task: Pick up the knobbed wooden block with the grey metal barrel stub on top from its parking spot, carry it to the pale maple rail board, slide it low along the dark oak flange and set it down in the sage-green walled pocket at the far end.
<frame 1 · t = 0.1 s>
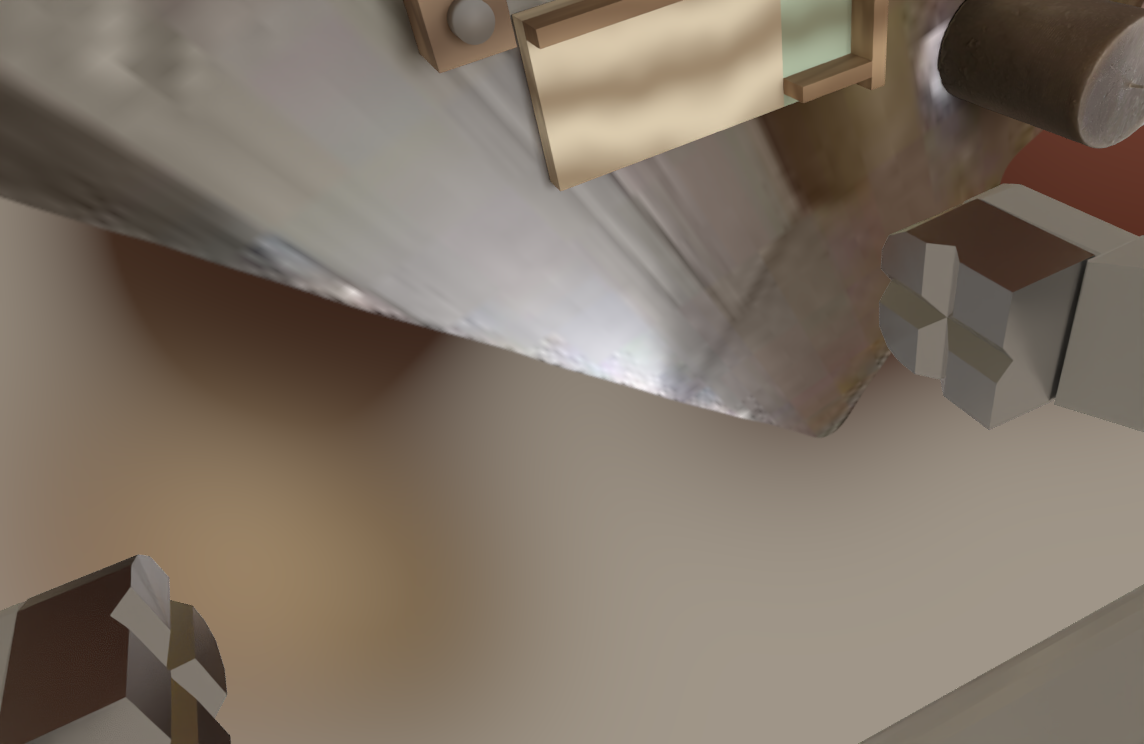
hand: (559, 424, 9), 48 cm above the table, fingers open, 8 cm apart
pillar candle: (984, 40, 70), on the table
knobbed wooden block: (444, 0, 51), on the table
rail board: (696, 45, 59), on the table
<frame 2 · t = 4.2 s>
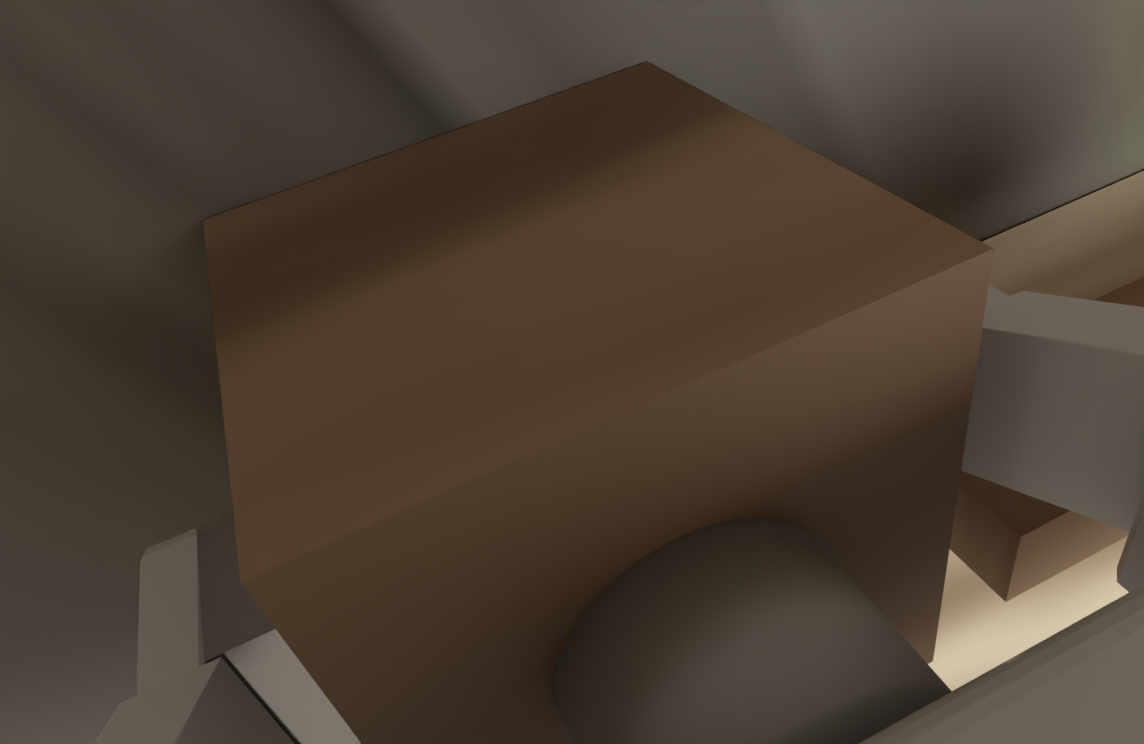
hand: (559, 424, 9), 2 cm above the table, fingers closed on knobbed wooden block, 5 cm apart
knobbed wooden block: (496, 324, 10), on the table, touching gripper
when the fingers open (5 cm above the table, at t = 15.4 s): knobbed wooden block stays where it is, resting on rail board.
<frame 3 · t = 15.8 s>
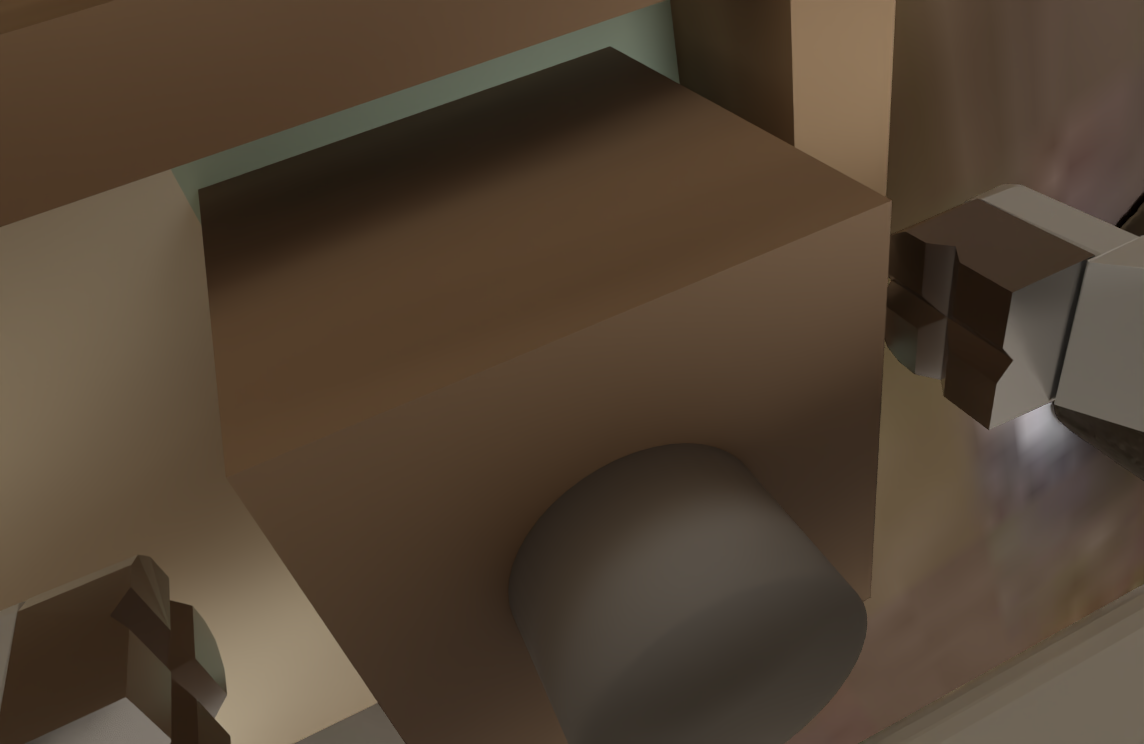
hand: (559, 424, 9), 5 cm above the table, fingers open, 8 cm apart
knobbed wooden block: (473, 293, 11), point 2 cm above the table, touching rail board
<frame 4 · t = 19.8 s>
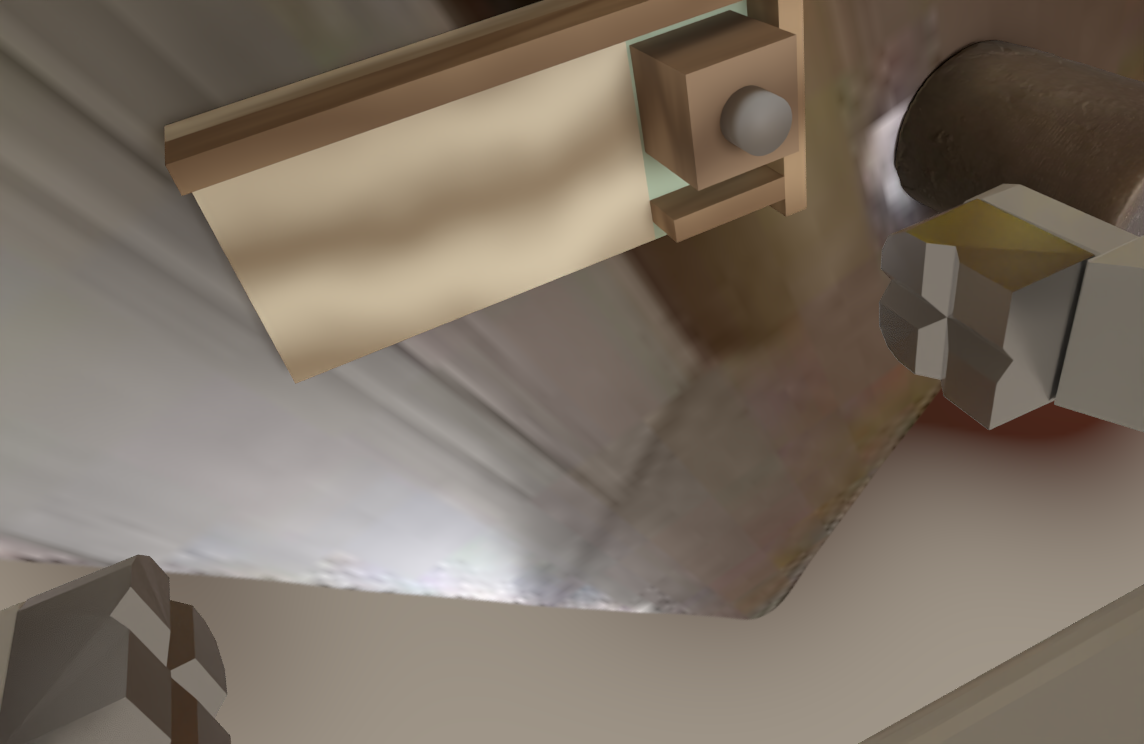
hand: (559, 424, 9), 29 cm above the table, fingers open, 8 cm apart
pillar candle: (961, 124, 48), on the table
knobbed wooden block: (686, 83, 37), point 2 cm above the table, touching rail board
rail board: (508, 155, 38), on the table
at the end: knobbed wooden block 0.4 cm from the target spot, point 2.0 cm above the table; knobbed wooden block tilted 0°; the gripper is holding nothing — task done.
